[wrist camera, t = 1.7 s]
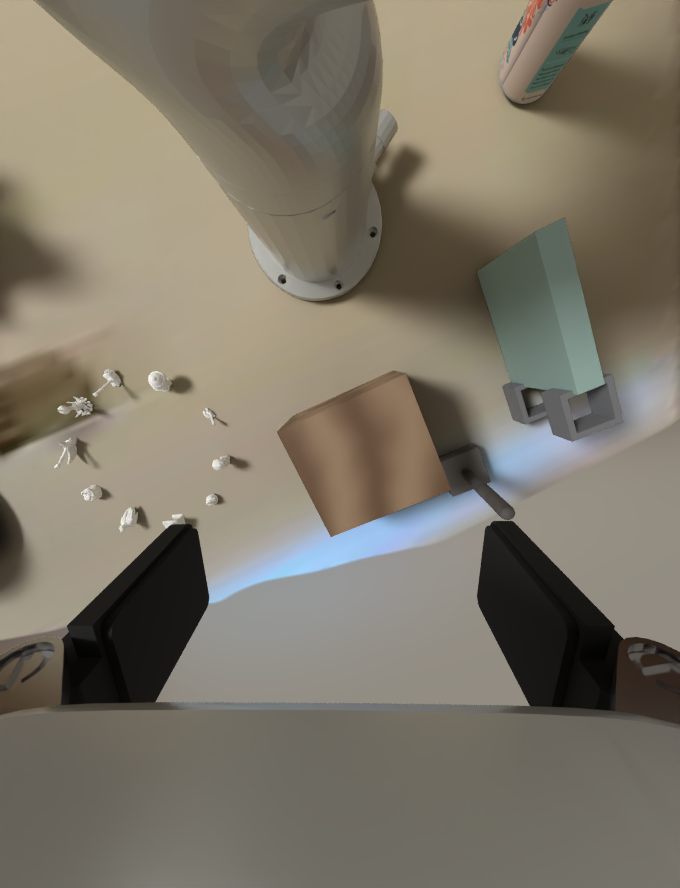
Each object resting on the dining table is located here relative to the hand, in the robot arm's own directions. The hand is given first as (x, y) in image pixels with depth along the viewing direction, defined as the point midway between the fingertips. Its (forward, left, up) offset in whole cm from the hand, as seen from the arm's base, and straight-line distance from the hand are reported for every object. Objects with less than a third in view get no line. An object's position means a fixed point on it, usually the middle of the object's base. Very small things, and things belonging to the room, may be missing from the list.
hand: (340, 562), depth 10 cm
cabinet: (0, +6, -26) cm, 26 cm away
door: (-16, +9, -26) cm, 32 cm away
